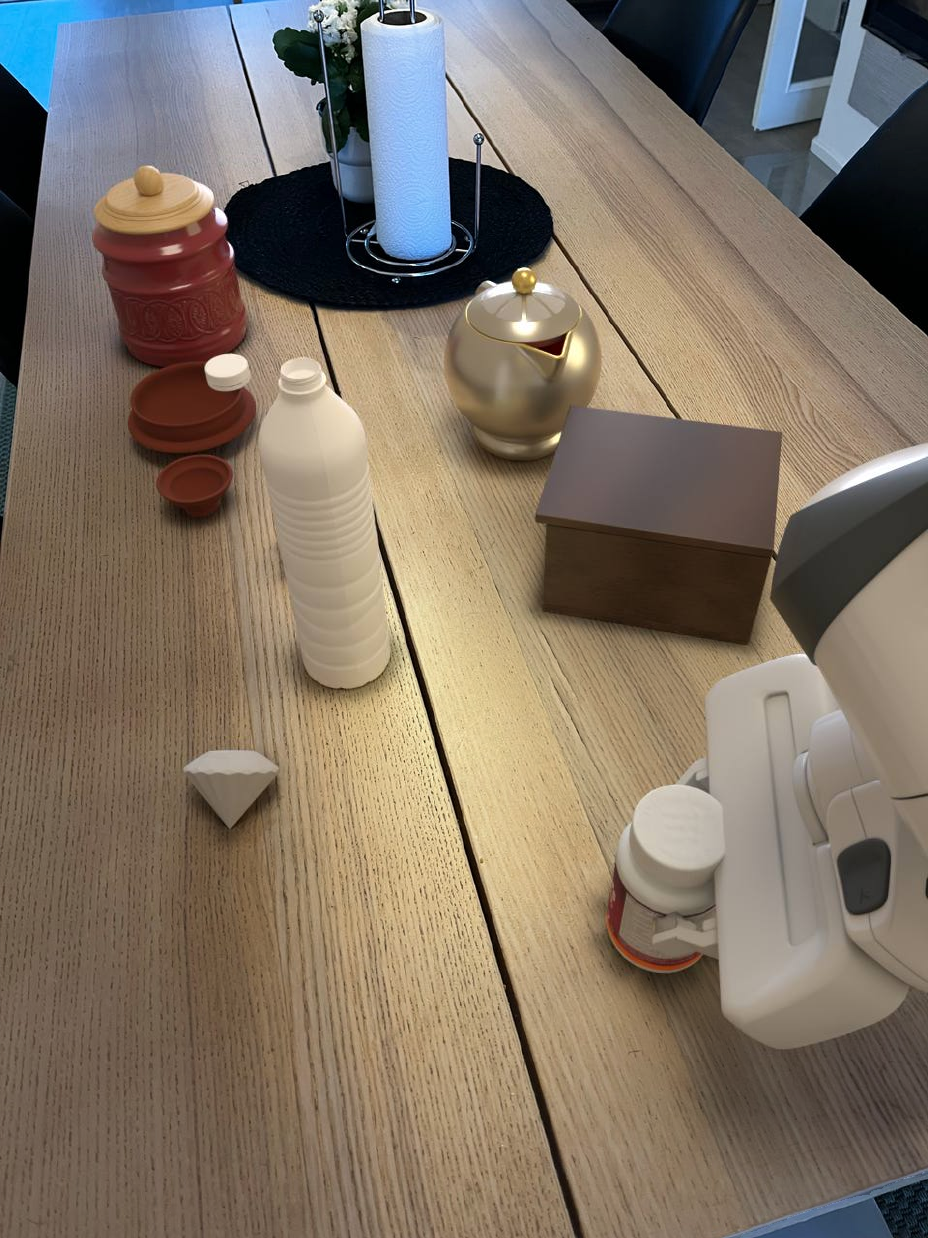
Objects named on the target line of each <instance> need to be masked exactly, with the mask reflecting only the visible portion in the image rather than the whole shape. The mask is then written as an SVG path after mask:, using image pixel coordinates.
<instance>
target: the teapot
mask: <svg viewBox="0 0 928 1238" xmlns="http://www.w3.org/2000/svg"><path fill="white" fill-rule="evenodd" d="M537 279H538V277H537V275H536V273H535V272H534V271H533V270H532V269H530V268H528V267H521V268H517V270H516V271H514V273H513V274H512V276H511V280H509V281H504V282H501V283H495V282H493V281H490V280H485V281H483V282H481V283H480V285H478V287H477V288H476V290H475V292H474V297H473V298H472V299H471V300H470V301H469V302H467V304H466V305H465V306H464V307H463V308H462V310H461V311H460V312H459V314H458V315H457V317H456V319H455V320H454V322H453V323H452V326H451V327H450V330H449V333H448V335H447V339H446V342H445V347H444V348H445V349H444V354H443V370H444V377H445V382H446V386H447V389H448V391H449V395H450V397H451V398H452V401H453V402H454V404H455V406H456V407H457V410H459V412H460V413H461V414H462V415H463V417H464V418H465V419H466V420H467V421H468V422H469V423H470V424H472V432H473V436H474V438H475V440H476V442H477V443H478V444H479V446H480V447H481V448H482V449H483V450H485V451H486V452H488V453H489V454H491V455H493V456H495V457H498V458H500V459H504V460H509V461H515V462H516V461H517V462H518V461H519V462H524V461H525V462H526V461H535V460H539V459H543V458H545V457H548V456H549V455H552V454H555V451H556V448H557V445H558V442H559V439H560V435H561V432H562V429H563V426H564V423H565V420H566V416H567V413H568V410H569V407H570V405H573V406H581V407H589V405H590V403H591V401H592V400H593V398H594V397H595V393H596V391H597V390H598V386H599V381H600V378H601V373H602V366H603V365H602V363H603V361H602V360H603V359H602V356H603V355H602V346H601V341H600V338H599V333H598V331H597V329H596V327H595V324H594V323H593V320H592V318H591V317H590V315H589V314H588V312H587V311H586V310H585V308H584V307H583V306H582V305H581V304H580V303H579V301H578V300H576V299H575V298H574V297H573V296H572V295H570V294H569V293H567V292H566V291H564V290H563V289H561V288H560V287H558V286H556V285H555V286H554V285H553V284H551V283H550V284H549V283H547V282H544V281H539V280H537Z"/></svg>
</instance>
